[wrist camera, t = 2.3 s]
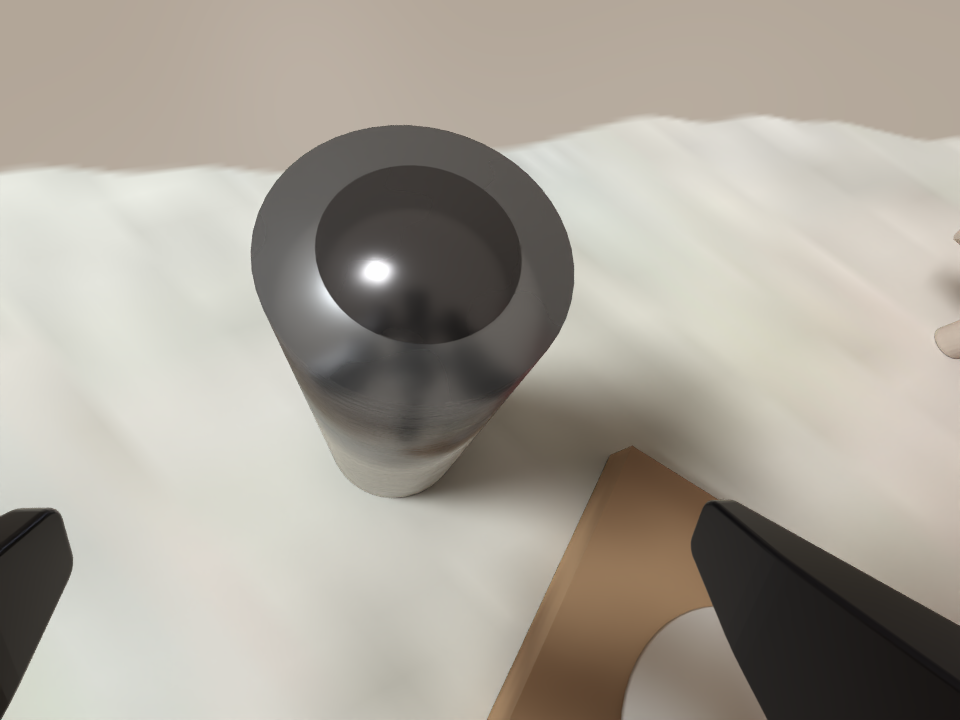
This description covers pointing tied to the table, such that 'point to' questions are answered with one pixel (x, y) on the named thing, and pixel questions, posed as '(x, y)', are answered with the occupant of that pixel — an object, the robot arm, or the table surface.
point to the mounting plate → (629, 614)
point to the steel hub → (409, 293)
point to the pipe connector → (950, 331)
